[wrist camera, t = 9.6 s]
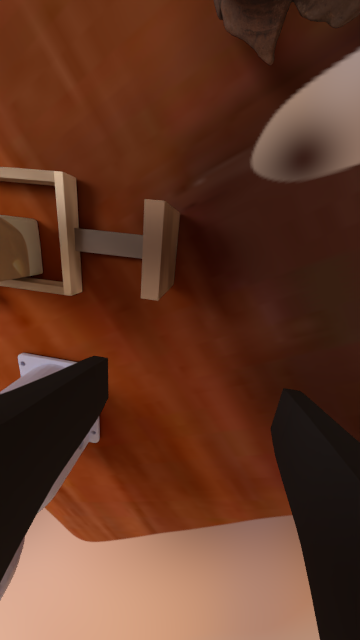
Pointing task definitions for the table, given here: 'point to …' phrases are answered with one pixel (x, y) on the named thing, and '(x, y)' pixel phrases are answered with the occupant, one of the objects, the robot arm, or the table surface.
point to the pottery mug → (278, 19)
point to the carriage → (103, 239)
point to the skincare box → (19, 248)
